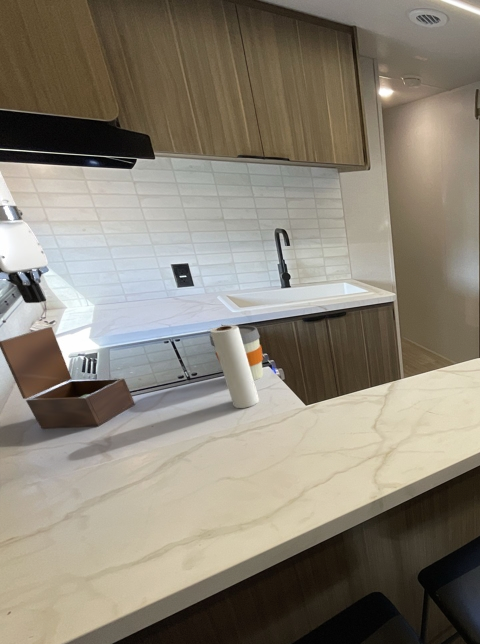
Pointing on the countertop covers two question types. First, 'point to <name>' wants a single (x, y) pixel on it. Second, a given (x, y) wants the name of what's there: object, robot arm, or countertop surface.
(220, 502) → the countertop surface
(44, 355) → the lid
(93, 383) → the chest
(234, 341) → the paper towel roll
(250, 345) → the reusable coffee cup
